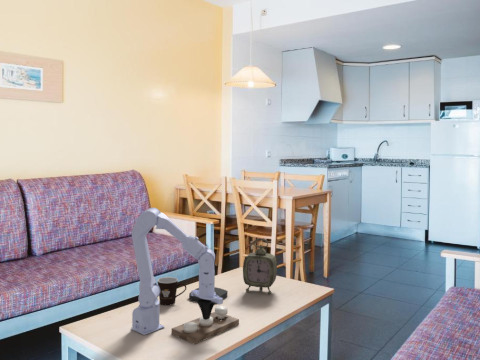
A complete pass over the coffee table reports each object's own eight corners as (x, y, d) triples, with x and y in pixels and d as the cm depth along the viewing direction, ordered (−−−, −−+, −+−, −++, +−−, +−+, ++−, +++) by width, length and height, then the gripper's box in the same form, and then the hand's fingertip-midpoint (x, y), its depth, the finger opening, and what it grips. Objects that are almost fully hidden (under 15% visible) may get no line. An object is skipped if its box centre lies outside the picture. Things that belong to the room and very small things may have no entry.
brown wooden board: (194, 344, 152) (194, 338, 152) (171, 333, 159) (171, 328, 159) (238, 324, 169) (238, 319, 169) (215, 316, 177) (216, 311, 177)
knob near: (189, 339, 155) (190, 328, 155) (180, 335, 158) (180, 324, 158) (199, 335, 158) (199, 324, 158) (190, 331, 162) (190, 321, 161)
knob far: (221, 321, 167) (221, 311, 167) (212, 317, 170) (212, 308, 170) (229, 317, 170) (230, 307, 170) (220, 314, 174) (220, 304, 173)
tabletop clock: (242, 292, 206) (243, 239, 204) (247, 287, 214) (248, 235, 213) (273, 296, 202) (274, 241, 200) (277, 290, 210) (278, 238, 208)
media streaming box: (214, 305, 189) (214, 298, 189) (185, 300, 196) (185, 293, 196) (230, 295, 203) (230, 289, 202) (202, 290, 209) (202, 284, 209)
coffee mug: (153, 304, 189) (153, 281, 188) (165, 298, 197) (165, 276, 196) (175, 309, 184) (175, 285, 183) (187, 302, 191) (187, 280, 191)
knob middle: (206, 332, 161) (206, 322, 161) (196, 328, 164) (197, 318, 164) (215, 328, 165) (215, 318, 164) (206, 324, 168) (206, 315, 167)
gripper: (228, 284, 161) (228, 320, 162) (200, 276, 171) (200, 310, 172) (215, 288, 156) (214, 326, 157) (187, 280, 165) (186, 316, 166)
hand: (206, 318), depth 164 cm, fingers closed, pressing on knob middle
